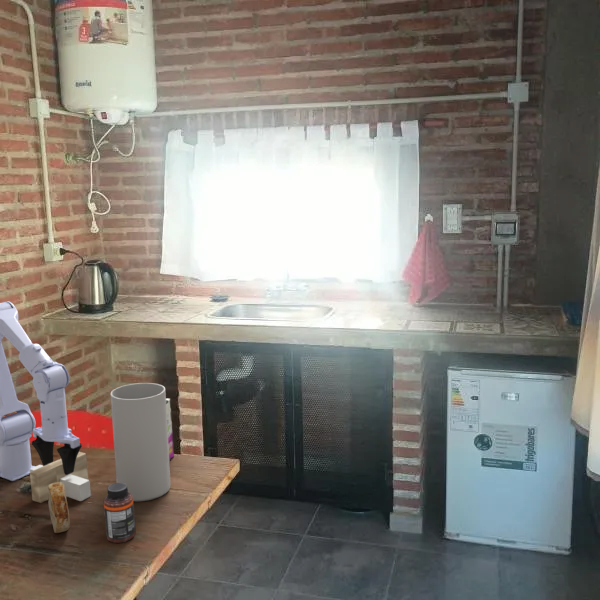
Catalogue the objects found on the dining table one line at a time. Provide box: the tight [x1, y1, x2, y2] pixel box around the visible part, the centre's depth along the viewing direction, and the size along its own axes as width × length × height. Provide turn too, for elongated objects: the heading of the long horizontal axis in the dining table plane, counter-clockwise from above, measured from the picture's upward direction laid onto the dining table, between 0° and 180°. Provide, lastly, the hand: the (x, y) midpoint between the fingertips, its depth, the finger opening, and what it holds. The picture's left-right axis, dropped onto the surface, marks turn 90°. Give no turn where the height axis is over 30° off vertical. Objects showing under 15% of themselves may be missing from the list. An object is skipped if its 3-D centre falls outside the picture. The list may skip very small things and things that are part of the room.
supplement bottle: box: [103, 482, 136, 544], centre depth 139 cm, size 6×6×11 cm
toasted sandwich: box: [47, 482, 71, 534], centre depth 143 cm, size 10×4×10 cm, turn 25°
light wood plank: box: [29, 451, 89, 504], centre depth 161 cm, size 3×14×7 cm, turn 149°
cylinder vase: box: [110, 382, 172, 502], centre depth 159 cm, size 12×12×25 cm
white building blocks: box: [30, 464, 92, 502], centre depth 161 cm, size 18×3×4 cm, turn 58°
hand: (58, 469), depth 161 cm, fingers open, 7 cm apart
